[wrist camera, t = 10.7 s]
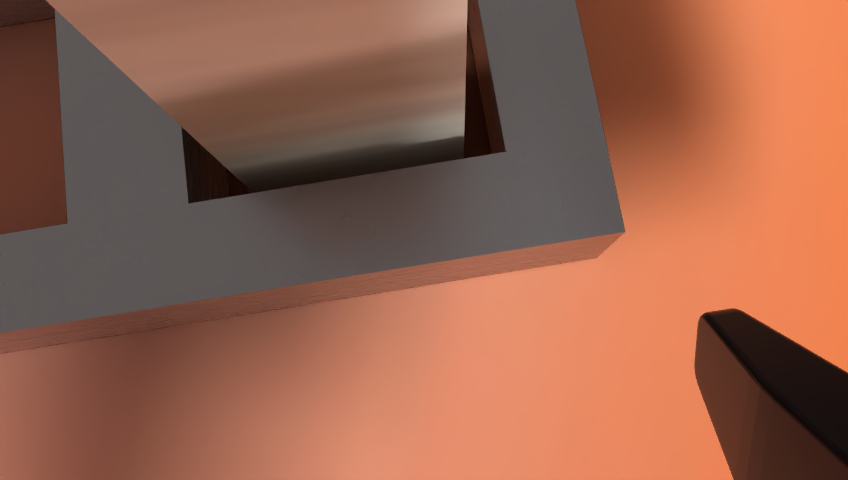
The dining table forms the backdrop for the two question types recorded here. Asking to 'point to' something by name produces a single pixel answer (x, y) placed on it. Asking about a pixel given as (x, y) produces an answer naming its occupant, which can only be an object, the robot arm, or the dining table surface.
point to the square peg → (295, 79)
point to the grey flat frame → (305, 198)
